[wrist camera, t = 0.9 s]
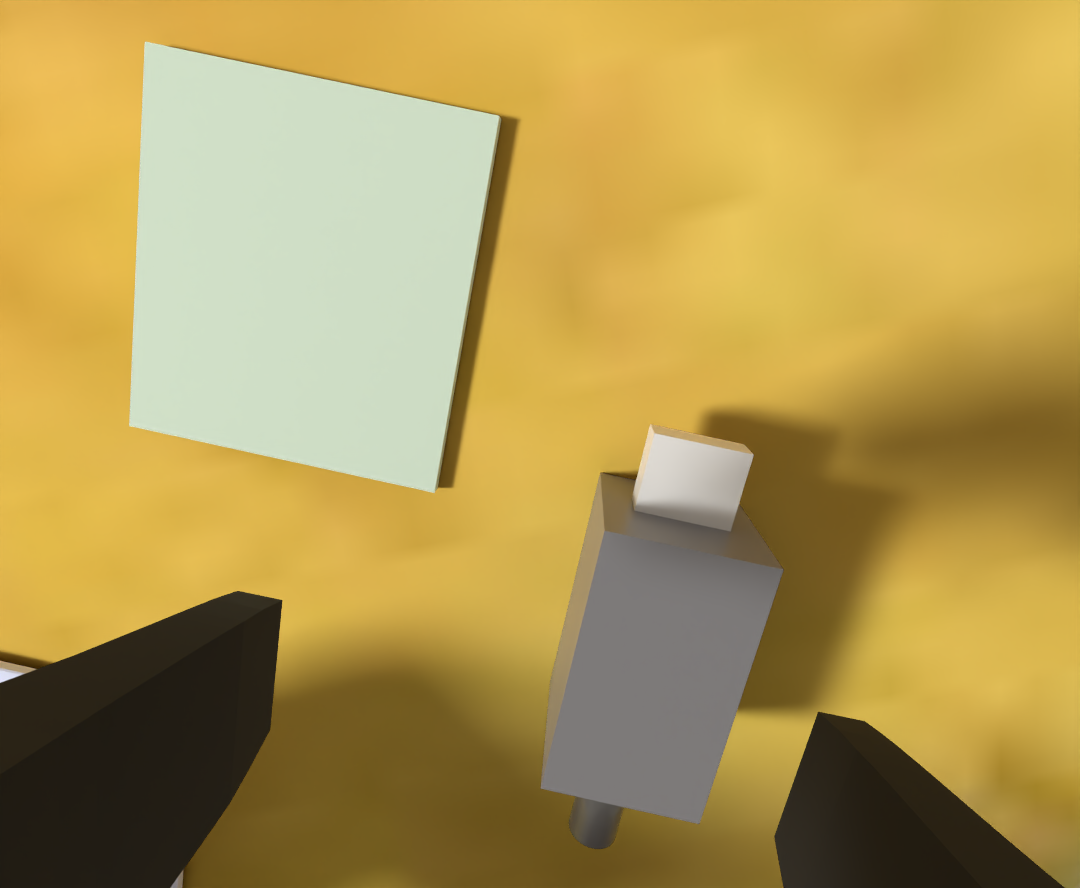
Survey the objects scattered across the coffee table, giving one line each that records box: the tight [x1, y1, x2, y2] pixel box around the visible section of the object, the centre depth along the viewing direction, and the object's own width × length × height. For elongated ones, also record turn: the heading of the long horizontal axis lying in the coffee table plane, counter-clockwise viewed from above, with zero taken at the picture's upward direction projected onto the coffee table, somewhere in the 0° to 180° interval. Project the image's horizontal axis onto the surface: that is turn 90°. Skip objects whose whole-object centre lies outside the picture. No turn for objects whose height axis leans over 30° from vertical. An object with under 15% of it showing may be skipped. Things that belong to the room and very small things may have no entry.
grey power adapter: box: [541, 424, 784, 849], centre depth 17 cm, size 12×4×4 cm, turn 168°
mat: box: [129, 42, 501, 493], centre depth 17 cm, size 10×9×1 cm
